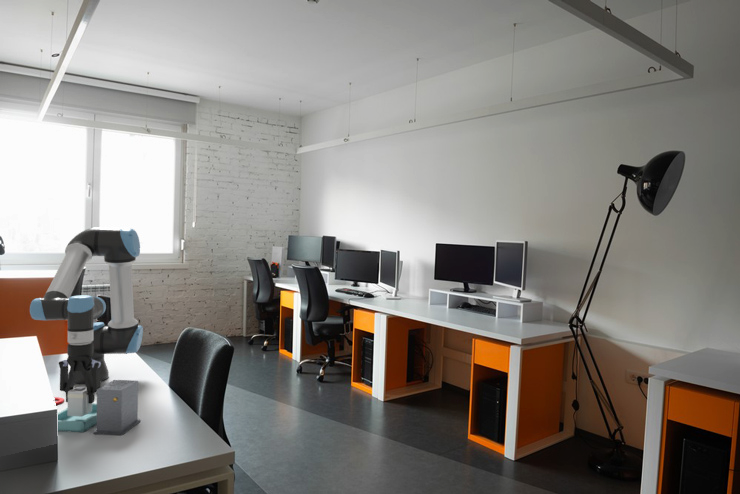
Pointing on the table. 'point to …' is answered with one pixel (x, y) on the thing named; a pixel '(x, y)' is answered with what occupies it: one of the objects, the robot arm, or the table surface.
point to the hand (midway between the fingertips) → (80, 412)
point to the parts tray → (77, 421)
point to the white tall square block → (76, 401)
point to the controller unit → (117, 407)
